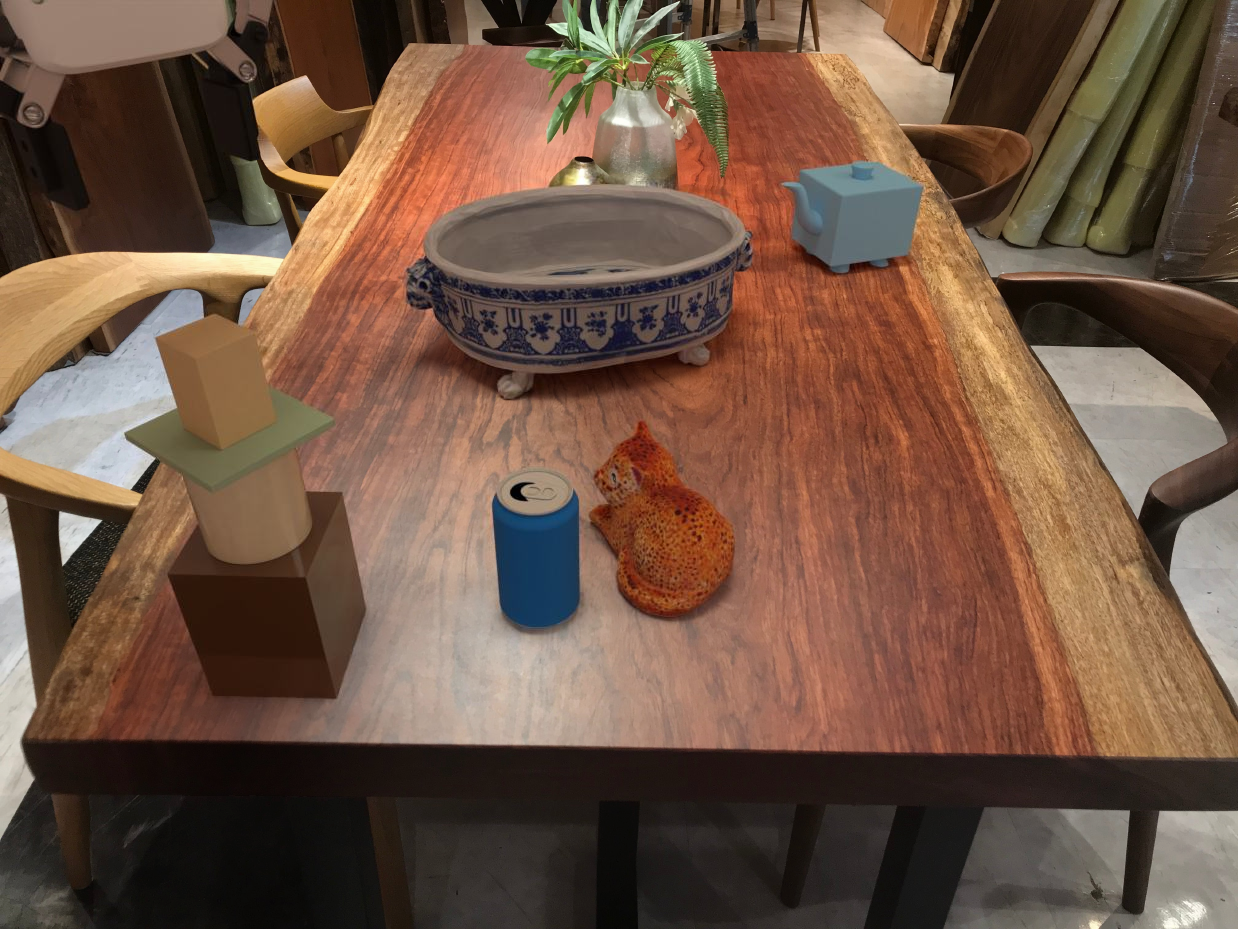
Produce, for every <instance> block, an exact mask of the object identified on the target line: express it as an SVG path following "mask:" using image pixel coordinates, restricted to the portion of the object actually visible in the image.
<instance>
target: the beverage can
mask: <svg viewBox="0 0 1238 929" xmlns="http://www.w3.org/2000/svg"><path fill="white" fill-rule="evenodd" d="M491 513H492V514H491V515H492V524H493V525H492V526H493V537H494V550H495V564H496V574H497V575H496V576H497V587H498V599H499V601H498V602H499V606H500V609H501V611H502V613H503V615H504V616H505V617H506V618H507V619H508V620H510V621H511V622H513V623H515V624H516V625H519V626H521V627H524V628H530V629H544V628H550V627H554V626H557V625H559V624H562V623H564V622H566V621H567V620H568V619H570V618H571V617H572V616H573V615H574V614H575V612H576V611H577V609H578V608H579V604H580V600H581V594H580V593H581V592H580V590H581V586H580V583H581V582H580V574H581V573H580V572H581V570H580V500H579V496H578V494H577V491H576V490H575V489H574V485H573V482H572V481H571V479H570V478H569V477H568V476H567V475H566V474H565V473H563V472H561V471H559V470H557V469H554V468H551V467H545V466H529V467H523V468H520V469H519V468H518V469H516V470H513V471H512V472H509V473H508V474H506V475H505V476H503V478H501V480H500V481H499V482H498V484H497V487H496V492H495V493H494V495H493V498H492V502H491Z"/></svg>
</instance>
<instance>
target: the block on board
mask: <svg viewBox="0 0 1238 929" xmlns="http://www.w3.org/2000/svg"><path fill="white" fill-rule="evenodd" d="M154 340H155V344H156V346H157V350H158V353H159V355H160V359H161V361H162V365H163V368H164V371H165V374H166V377H167V381H168V384H169V387H170V390H171V393H172V396H173V399H174V402H175V406H176V408H173V409H171V410H169V411H167V412H165V413H163V414H161V415H158V416H156V417H154V418H152V419H150V420H148V421H146V422H144V423H141V424H139V425H137V426H135V427H133V428H131V429H128V430H126V431H124V432H123V434H124V437H125V441H127V442H129V444H131V445H133V446H135V447H137V448H138V449H140V450H142V451H143V452H144V453H147V454H148V455H150V456H151V457H153V458H155V459H156V460H157V461H159V462H161V463H162V464H163V465H166V466H168V467H169V468H170V469H172V470H174V471H175V472H177V473H178V474H180V475H181V476H182V475H183V476H185V477H186V478H188V479H190V480H191V481H193V482H194V483H196V484H198V485H199V486H201V487H202V488H204V489H206V490H207V491H209V492H211V493H212V494H213V493H215V492H217V491H219V490H220V489H222V488H224V487H226V486H228V485H229V484H231V483H233V482H235V481H237V480H238V479H240V478H242V477H244V476H246V475H248V474H249V473H251V472H253V471H255V470H257V469H258V468H260V467H262V466H264V465H266V464H267V463H269V462H271V461H273V460H275V459H277V458H278V457H280V456H282V455H284V454H286V453H287V452H289V451H291V450H293V449H295V448H296V449H297V448H298V447H300V446H302V445H304V444H306V443H307V442H309V441H311V440H312V439H315V438H316V437H319V436H320V435H322V434H323V433H325V432H327V431H329V430H331V429H333V428H334V427H336V425H337V424H336V420H335V418H334V417H333V416H330V415H328V414H326V413H324V412H322V411H320V410H319V409H316V408H314V407H313V406H311V405H309V404H307V403H305V402H303V401H301V400H299V399H297V398H295V397H293V396H291V395H289V394H287V393H285V392H283V391H282V390H279V389H277V388H275V387H273V386H271V385H269V383H268V379H267V376H266V372H265V368H264V363H263V359H262V356H261V355H262V354H261V351H260V347H259V343H258V339H257V334H256V332H255V331H253V330H251V329H249V328H247V327H245V326H243V325H240V324H238V323H236V322H234V321H232V320H230V319H228V318H226V317H223V316H221V315H219V314H217V313H212V314H209V315H207V316H204V317H202V318H200V319H198V320H194V321H192V322H189V323H187V324H185V325H182V326H180V327H178V328H175V329H173V330H170V331H167V332H165V333H162V334H160V335H158V336H155V337H154ZM183 476H182V477H183Z"/></svg>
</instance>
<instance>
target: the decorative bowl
mask: <svg viewBox="0 0 1238 929" xmlns="http://www.w3.org/2000/svg"><path fill="white" fill-rule="evenodd" d="M753 237H754V233H753V231H749V230H746V228H745V224H744V222H743V221H742V220H741V219H740V217H739V216H738V215H737V214H736V213H735V212H733V211H732V210H731V209H730V208H728V207H727V206H725V205H722V204H721V203H718V202H717V201H714V200H713V199H712V200H711V199H709V198H706V197H704V196H699V195H697V194H695V193H694V194H693V193H690V192H687V191H686V192H685V191H680V190H676V189H671V188H666V187H658V186H657V187H656V186H649V185H638V184H637V185H636V184H635V185H634V184H615V183H614V184H613V183H608V184H607V183H606V184H605V183H603V184H600V183H599V184H574V185H573V184H572V185H571V184H570V185H558V186H547V187H539V188H531V189H523V190H517V191H512V192H506V193H501V194H495V195H491V196H487V197H483V198H479V199H476V200H473V201H471V202H467V203H465V204H462V205H459V206H457V207H455V208H452V210H449V211H448V212H446V213H444V214H443V215H441V216H440V217H438V218H437V219H436V220H435V221H434V222H433V223H432V224H431V226H430V227H429V228H428V230H427V232H426V234H425V237H424V239H423V253H424V256H423V258H418V259H417V260H416V261H415V262H414V263H413V264H412V266H410V267H407V268H406V269H405V273H406V275H407V276H408V278H407V279H406V280H405V281H404V286H405V299H404V302H405V303H407V304H408V305H409V306H410V307H411V308H413V309H415V310H420V311H421V310H422V311H427V310H430V309H432V312H433V315H434V317H435V319H436V320H437V322H438V323H439V325H441V327H442V328H443V330H444V332H445V334H446V336H447V337H448V339H449V341H451V343H453V345H454V346H455V347H457V348H458V349H460V350H461V351H462V352H463V353H465V354H466V355H468V357H471V358H472V359H475V360H478V361H480V362H482V363H484V364H486V365H489V366H491V367H494V368H499V369H504V370H509V371H512V372H509V373H507V374H504V375H503V376H501V377H500V379H498V380H497V385H496V389H497V392H498V396H502V397H503V399H505V400H513V399H515V398H517V397H520V396H522V395H523V394H524V393H527V392H529V391H530V390H531V389H532V388H533V387H534V382H535V374H562V373H564V374H565V373H572V372H573V373H574V372H579V371H585V370H592V369H599V368H604V367H609V366H615V365H621V364H626V363H632V362H638V361H644V360H650V359H655V358H656V359H657V358H660V357H665V356H668V355H673V354H674V353H677V352H678V353H677V357H678V360H679V361H681V363H683V364H688V363H690V364H692V365H694V366H700V367H702V366H704V365H707V364H709V360H710V357H711V351H710V350H709V349H708V348H706V347H705V345H704V343H706V342H708V341H710V340H712V339H714V338H715V337H717V336H718V335H719V334H721V332H723V331H724V329H726V326H727V324H728V322H729V318H730V316H731V313H732V309H733V306H734V301H733V300H734V299H733V295H734V281H735V274H736V272H737V273H742V272H743V273H744V272H746V271H748V270H749V269H750V268H751V265H752V263H753V261H754V258H753V255H754V252H755V249H754V248H753V247H752V245H751V242H750V241H751V239H752V238H753Z"/></svg>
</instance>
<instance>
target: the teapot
mask: <svg viewBox="0 0 1238 929" xmlns="http://www.w3.org/2000/svg"><path fill="white" fill-rule="evenodd" d="M780 185H781V186H782V187H785V188H786V189H788V190H789V191H790V192H791V193H792V195H793V199H794V209H793V210H794V211H793V216H792V217H793V218H792V225H791V233H790V239H792V240H793V241H794V242H796V243H798V244H799V245H800V246H802V247H803V248H804V249H805V252H806V253H807V254H809V255H813V256H815V257H816V258H818V259H819V260H821V261H822V262H823V263H825V264H826V265H827V266H829V270H830V271H831V272H834V273H837V274H846V273H848V272H849V271H850V266H851V265H850V264H856V263H857V264H858V263H864V262H868V263H869V264H870V265H871V266H874V267H878V268H885V267H888V266H889V264H890V263H889V261H888V259H891V258H897V257H905V256H909V255H910V250H911V245H912V242H913V237H914V232H915V229H916V223H917V219H918V214H919V210H920V207H921V206H920V205H921V201H922V198H923V193H924V188H925V187H924V185H923V184H921V183H919V182H917V181H915V180H913V179H912V178H911V177H909V176H908V175H906V174H904V173H901V172H898V171H896V170H895V169H893V168H891V167H889V166H887V165H886V164H883V163H881V162H879V161H868V160H867V161H866V160H856V161H853V162H852V163H848V164H840V165H832V166H824V167H822V166H821V167H814V168H804V169H800V171H799V174H798V182H796V181H786V182H781V183H780Z"/></svg>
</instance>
